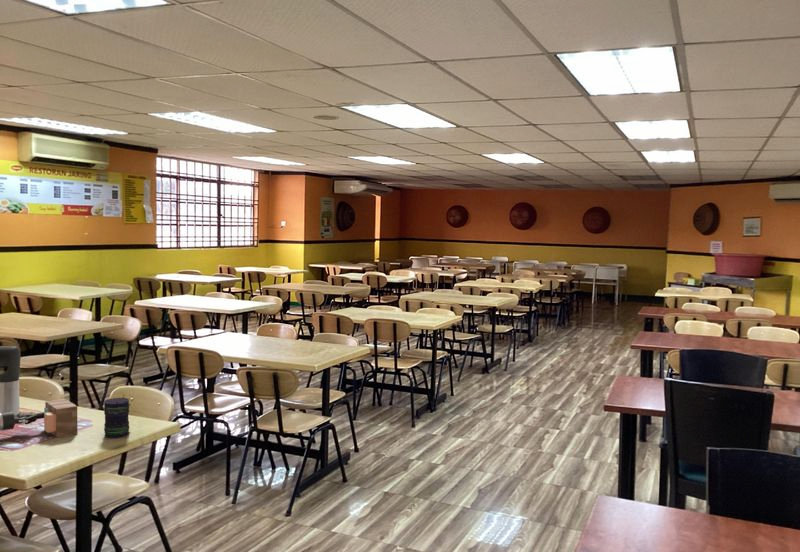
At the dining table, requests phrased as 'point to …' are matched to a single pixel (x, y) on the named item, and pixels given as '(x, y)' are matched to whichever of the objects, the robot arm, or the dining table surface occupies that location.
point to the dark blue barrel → (116, 418)
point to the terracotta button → (50, 422)
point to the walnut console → (64, 417)
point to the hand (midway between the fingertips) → (45, 414)
